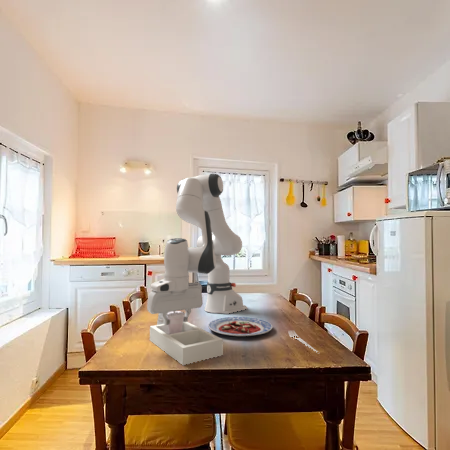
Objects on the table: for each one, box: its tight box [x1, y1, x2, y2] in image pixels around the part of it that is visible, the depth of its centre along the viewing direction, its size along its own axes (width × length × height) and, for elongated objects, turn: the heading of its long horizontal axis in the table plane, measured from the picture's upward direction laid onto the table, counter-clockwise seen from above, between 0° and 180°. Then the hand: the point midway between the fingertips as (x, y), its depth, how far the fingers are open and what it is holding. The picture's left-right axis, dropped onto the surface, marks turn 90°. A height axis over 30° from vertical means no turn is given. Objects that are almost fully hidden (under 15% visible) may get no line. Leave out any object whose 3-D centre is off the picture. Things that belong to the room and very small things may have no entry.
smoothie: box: [167, 310, 186, 334], centre depth 111 cm, size 6×6×14 cm
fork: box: [287, 330, 319, 353], centre depth 110 cm, size 3×20×2 cm, turn 15°
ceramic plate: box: [208, 316, 273, 338], centre depth 125 cm, size 26×26×3 cm
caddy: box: [149, 321, 224, 366], centre depth 105 cm, size 26×14×5 cm, turn 34°
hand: (175, 323), depth 111 cm, fingers closed on smoothie, 6 cm apart
